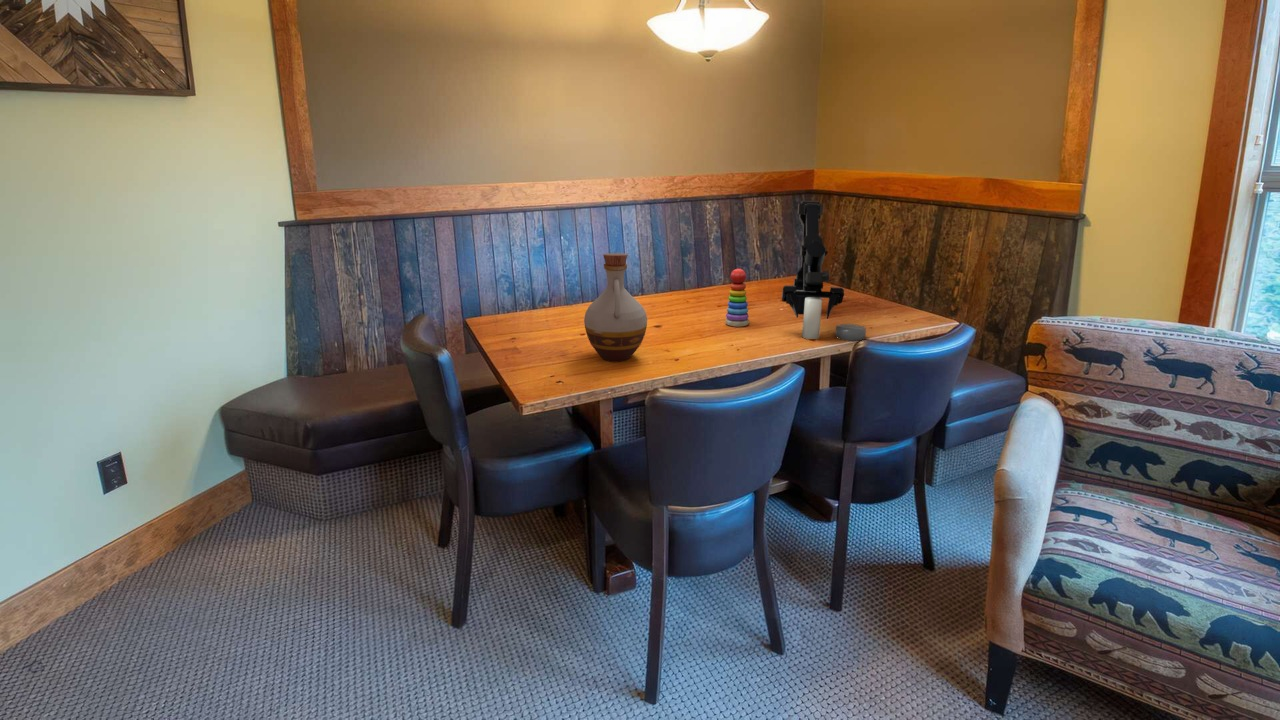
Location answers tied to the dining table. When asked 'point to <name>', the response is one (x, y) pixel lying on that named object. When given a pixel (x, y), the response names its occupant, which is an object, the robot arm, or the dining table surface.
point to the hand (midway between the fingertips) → (812, 317)
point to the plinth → (850, 332)
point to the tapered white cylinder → (812, 317)
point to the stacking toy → (737, 300)
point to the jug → (615, 315)
